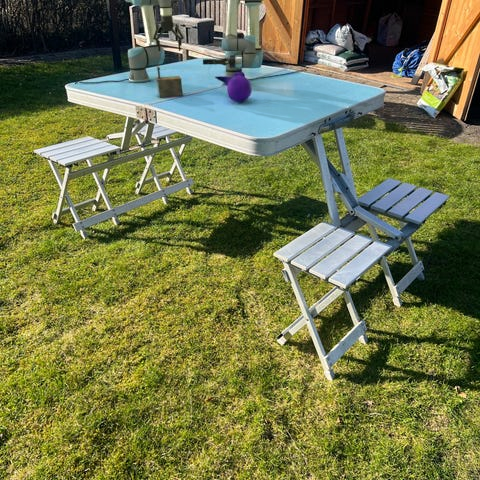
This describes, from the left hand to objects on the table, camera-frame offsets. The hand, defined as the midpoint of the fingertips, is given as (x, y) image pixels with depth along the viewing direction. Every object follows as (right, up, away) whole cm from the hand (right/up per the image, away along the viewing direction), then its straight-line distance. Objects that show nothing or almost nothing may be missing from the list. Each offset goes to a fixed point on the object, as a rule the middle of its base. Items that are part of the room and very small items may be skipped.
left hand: (169, 50), depth 300 cm
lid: (+1, -23, -9) cm, 25 cm away
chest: (+1, -31, -4) cm, 32 cm away
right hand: (+23, -9, -5) cm, 25 cm away
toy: (+44, -39, -19) cm, 62 cm away
